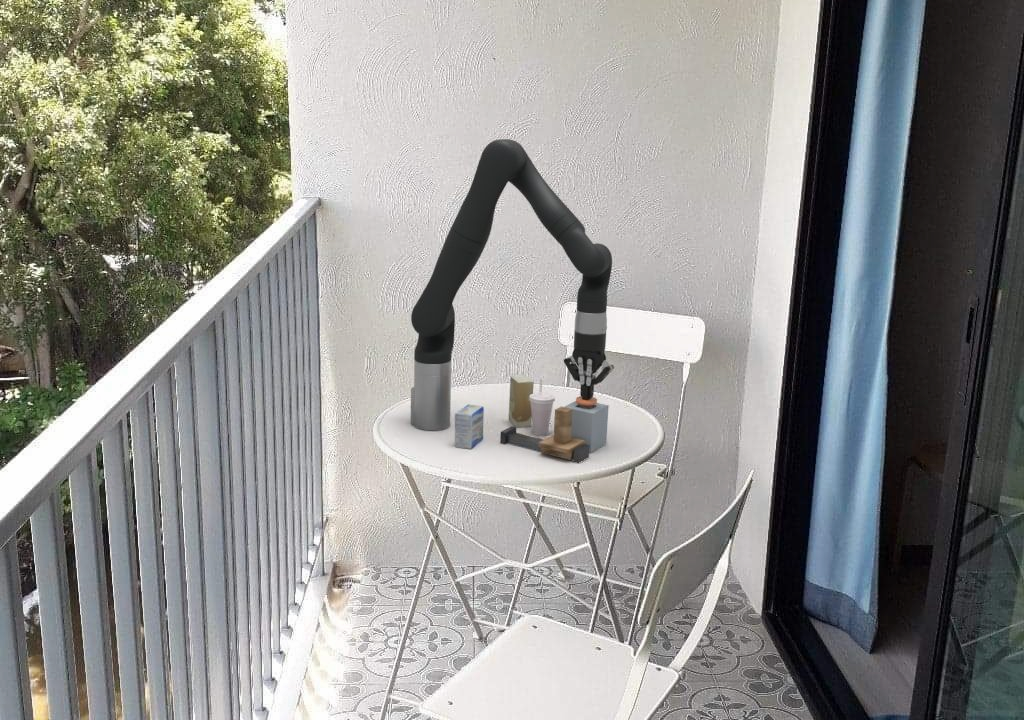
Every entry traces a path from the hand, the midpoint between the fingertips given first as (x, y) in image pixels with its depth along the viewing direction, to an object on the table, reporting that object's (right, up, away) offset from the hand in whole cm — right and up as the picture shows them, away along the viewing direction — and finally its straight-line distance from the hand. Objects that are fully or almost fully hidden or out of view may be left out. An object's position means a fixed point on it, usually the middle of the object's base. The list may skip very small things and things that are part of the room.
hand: (586, 399), depth 241 cm
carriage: (-6, -13, -4) cm, 15 cm away
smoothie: (-11, -9, +11) cm, 18 cm away
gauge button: (0, -7, +2) cm, 7 cm away
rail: (-10, -12, -1) cm, 16 cm away
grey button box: (0, -11, +3) cm, 12 cm away
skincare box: (-16, -7, +17) cm, 25 cm away
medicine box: (-28, -11, +2) cm, 30 cm away
